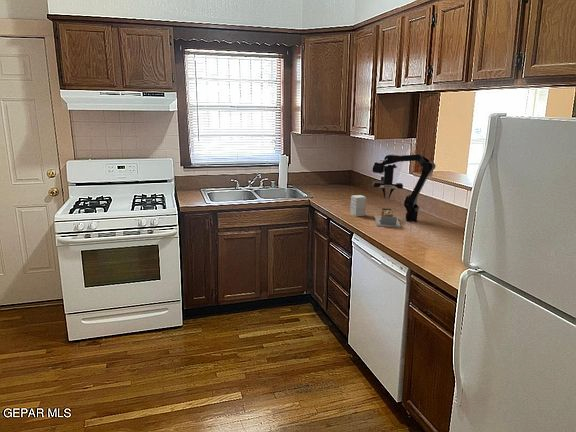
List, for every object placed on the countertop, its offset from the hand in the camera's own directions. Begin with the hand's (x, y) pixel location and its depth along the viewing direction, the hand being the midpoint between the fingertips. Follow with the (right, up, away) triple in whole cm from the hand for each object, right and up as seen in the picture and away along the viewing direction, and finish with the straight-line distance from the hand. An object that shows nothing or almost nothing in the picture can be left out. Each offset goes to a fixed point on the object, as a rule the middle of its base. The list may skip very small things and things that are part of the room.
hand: (386, 198), depth 287 cm
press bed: (-3, -15, -13) cm, 20 cm away
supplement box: (-18, -11, +4) cm, 22 cm away
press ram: (-2, -12, -6) cm, 14 cm away
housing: (-3, -15, -18) cm, 24 cm away
